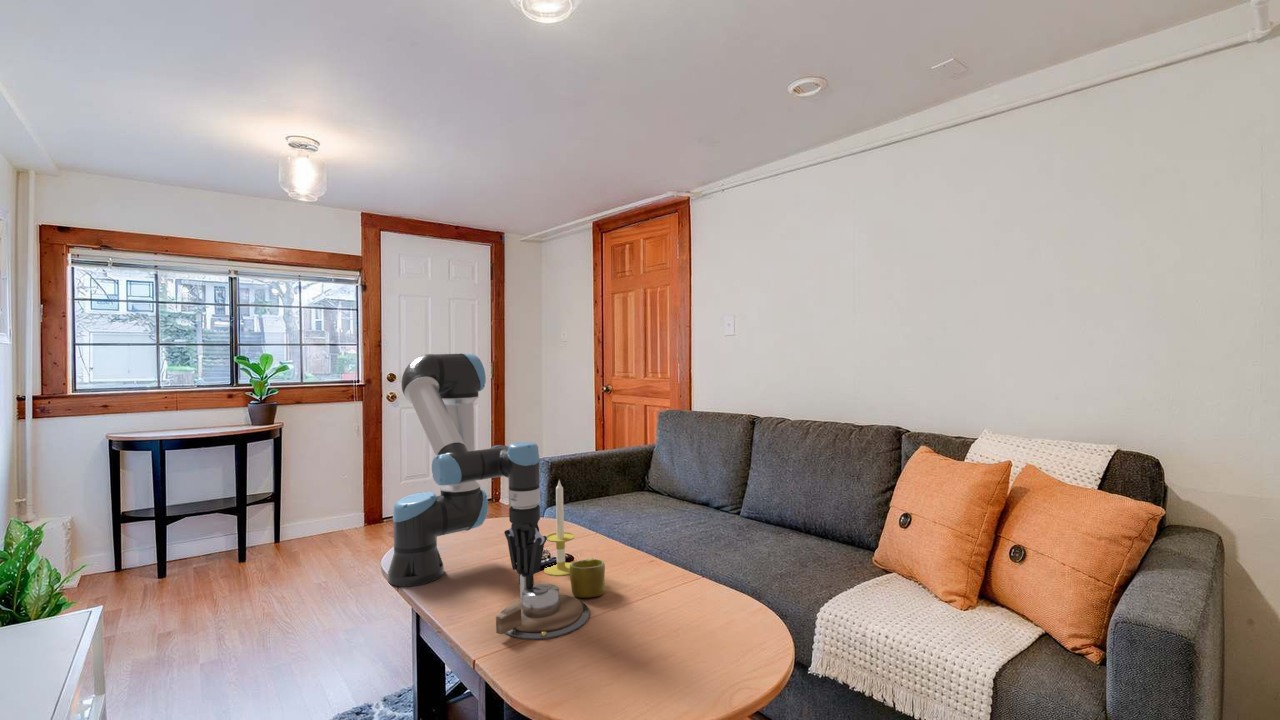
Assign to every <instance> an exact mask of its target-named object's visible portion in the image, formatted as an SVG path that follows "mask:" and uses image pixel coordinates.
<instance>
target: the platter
mask: <svg viewBox="0 0 1280 720" xmlns="http://www.w3.org/2000/svg"><path fill="white" fill-rule="evenodd" d="M559 597H560V609H559V611H558V612H557V613H556V614H554V615H552V616H549V617H544V618H530V617H527V616H525V615H524V614H523V613H522V601H520V599H518V600H515V601H514V602H512V603H511V604H510V605H508V606H507V607H505V608H506V610H505V611H504V613H501V612H500V613H501V614H500V613H499V614H497V615H496V617H495V628H496V629H495V630H496V631H495V632H496V634H499V635H503V634H505V632H507V631H509V630H511V629H515V630H519V631H523V632H542V631H546V632H548V631H554V630H558V629H561V628H564V627H567V626H569V625H571V624H573V623H575V622H576V621H577V620H578V619H579V618H580V617H581V616H582V614H583V605H582V603H581V602H580V601H581V600H580V599H578V598H577V597H575V596H570V595H567V594H562V593H561V594H560V593H559ZM579 600H580V601H579Z"/></svg>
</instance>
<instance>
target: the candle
mask: <svg viewBox="0 0 1280 720" xmlns="http://www.w3.org/2000/svg"><path fill="white" fill-rule="evenodd" d="M555 510H556V515H555V516H556V517H555V518H556V521H555V522H556V532H552V533H550V534H548V535H546V537H547V540H546V542H547V541H548V542H551V543H555V544H556V545H555V547H556V549H555V550H556V563H557V564H556V565H553V566H551V567H547V566H546V567H547V568H545V567H544V570H543V572H544V573H545V574H546V575H548V576H553V577H564V576H570V564H571V563H572V562H566V542H570V541H573V540H574V539H575V537H576V535H575V534H574V533H573V532H568V531H565V526H564V525H565V523H564V522H565V521H564V520H565V519H564V516H565V515H564V514H565V513H564V511H565V510H564V487H563V486H562V484H561V480H558V483H557V486H556V487H555Z"/></svg>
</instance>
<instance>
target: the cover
mask: <svg viewBox="0 0 1280 720" xmlns="http://www.w3.org/2000/svg"><path fill="white" fill-rule="evenodd" d="M559 594H560V587H558V586H557V585H554V584H550V583H539V584H534V585H533V587H532V588H529V589H528V588H525V589H524V590H523V591H522V613H523V614H524V615H525V616H527V617H530V618H544V617H549V616H552V615H554V614H556V613H557V612H558V611H559V609H560V597H559Z"/></svg>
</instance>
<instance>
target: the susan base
mask: <svg viewBox="0 0 1280 720" xmlns="http://www.w3.org/2000/svg"><path fill="white" fill-rule="evenodd" d="M578 600H579V601H580V602H581V603H582V605H583V614H582V616H581V617H580V618H579V619H578V620H577V621H576V622H575V623H573V624H571V625H569V626H567V627H564V628H561V629H558V630H554V631H548V632H546V631H542V632H523V631H519V630H515V629H511V630H509V631H507V632H505V633H504V634H505V635H507V636H509V637H512V638H516V639H521V640H534V641H535V640H537V641H539V640H549V639H553V638H559V637H562V636H566V635H568V634H570V633H573V632H575V631H577V630H578V629H581V628H582V627H583V626H584V625H585V624H586V623H587V622H588V620H589V619H590V618H589V617H590V609H589V606H587V604H586V603H585V602H583V601H581V600H580V599H578ZM506 608H507V607H505V608H504V609H503V610H501V612H500V613H499V614H501V613H504V611H505V610H506Z"/></svg>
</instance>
